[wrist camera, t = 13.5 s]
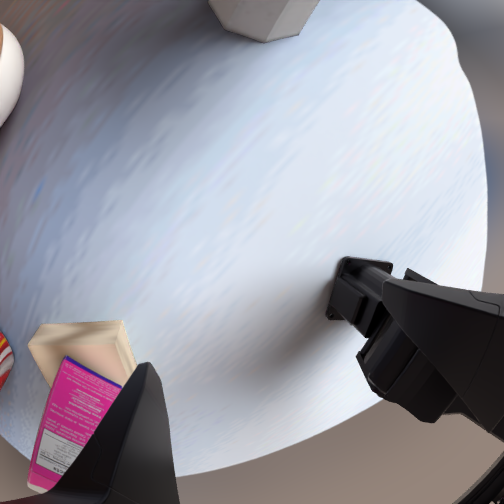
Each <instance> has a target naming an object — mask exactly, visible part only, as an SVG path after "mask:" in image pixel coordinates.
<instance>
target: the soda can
mask: <svg viewBox="0 0 504 504" xmlns="http://www.w3.org/2000/svg"><path fill="white" fill-rule="evenodd" d="M13 362H14V357H13V353H12V350H11V347H10V345H9V343H8V341H7V339H6V338H5V336H4V335H3V333H2V332H1V331H0V390H1V388H2V386H3V384H4V382H5V381H6V379H7V377H8V375H9V373H10V370H11V368H12V365H13Z"/></svg>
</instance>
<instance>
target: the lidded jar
mask: <svg viewBox="0 0 504 504" xmlns="http://www.w3.org/2000/svg"><path fill="white" fill-rule="evenodd" d="M23 77H24V57H23V52H22V49H21V46H20V44H19V42H18V41H17V39H16V37H15V36H14V35H13V34H12V33H11V32H10V31H9V30H8V29H7V28H6V27H5V26H3V25H2V24H1V23H0V127H1V126H2V125H3V123H4V122H5V121H6V119H7V117H8V116H9V115H10V114H11V112H12V111H13V109H14V107H15V105H16V103H17V101H18V98H19V96H20V92H21V88H22V82H23Z"/></svg>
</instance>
